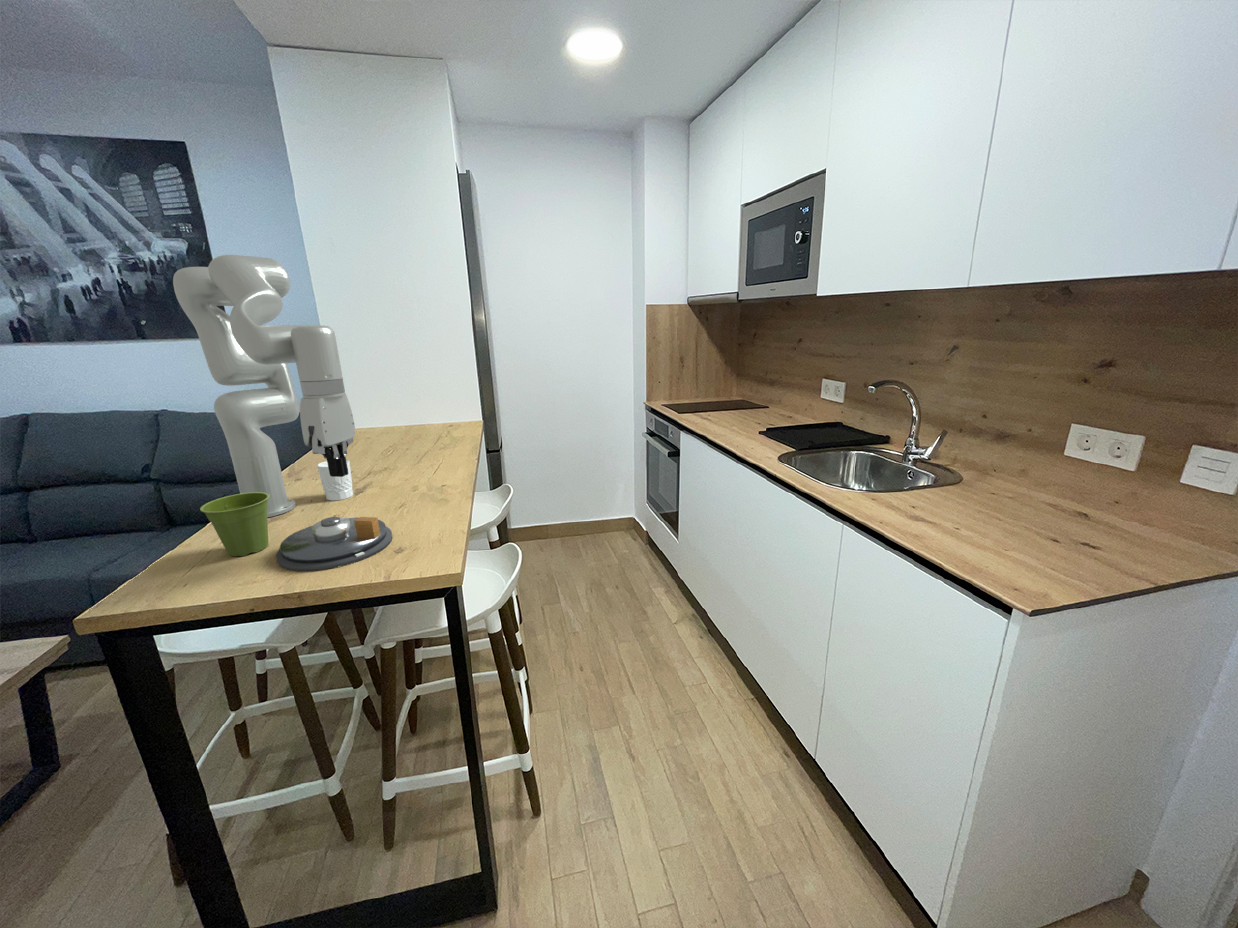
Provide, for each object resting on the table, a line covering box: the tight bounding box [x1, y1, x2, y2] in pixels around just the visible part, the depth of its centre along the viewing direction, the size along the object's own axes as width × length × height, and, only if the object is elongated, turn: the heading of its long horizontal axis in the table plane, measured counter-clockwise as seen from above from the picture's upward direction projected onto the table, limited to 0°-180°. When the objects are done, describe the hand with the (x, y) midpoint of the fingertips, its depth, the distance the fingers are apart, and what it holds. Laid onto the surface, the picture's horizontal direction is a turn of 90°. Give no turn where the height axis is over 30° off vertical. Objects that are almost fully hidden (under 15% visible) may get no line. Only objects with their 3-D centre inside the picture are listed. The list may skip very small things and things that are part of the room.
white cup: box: [316, 459, 354, 502], centre depth 138 cm, size 8×8×10 cm
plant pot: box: [199, 492, 270, 557], centre depth 105 cm, size 12×12×11 cm
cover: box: [311, 516, 352, 543], centre depth 105 cm, size 7×7×4 cm
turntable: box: [279, 516, 387, 563], centre depth 106 cm, size 20×20×6 cm
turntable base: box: [275, 526, 393, 572], centre depth 107 cm, size 22×22×1 cm
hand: (339, 475), depth 104 cm, fingers closed
